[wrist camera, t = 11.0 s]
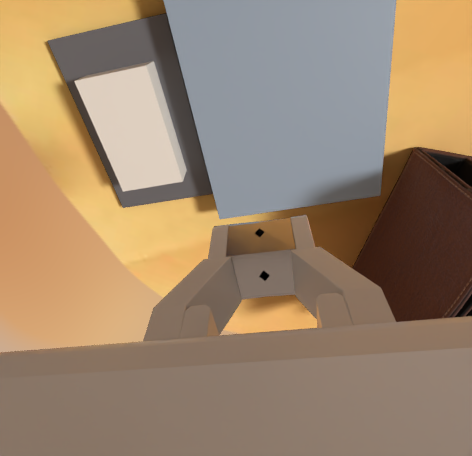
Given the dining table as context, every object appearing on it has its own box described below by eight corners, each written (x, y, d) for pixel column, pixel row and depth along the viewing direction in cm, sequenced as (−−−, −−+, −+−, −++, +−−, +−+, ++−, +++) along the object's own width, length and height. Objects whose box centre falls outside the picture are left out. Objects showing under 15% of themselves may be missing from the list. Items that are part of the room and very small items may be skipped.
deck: (165, -20, 24) (157, -23, 22) (388, -75, 22) (402, -84, 20) (221, 206, 35) (219, 219, 33) (371, 184, 33) (380, 195, 31)
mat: (50, 40, 26) (47, 40, 26) (166, 13, 25) (165, 13, 24) (124, 205, 35) (122, 207, 35) (212, 191, 34) (212, 193, 33)
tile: (86, 75, 27) (74, 81, 25) (153, 60, 26) (146, 65, 24) (130, 179, 33) (122, 191, 31) (186, 170, 32) (182, 181, 30)
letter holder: (340, 287, 42) (377, 395, 30) (413, 144, 31) (515, 227, 19) (411, 297, 43) (473, 406, 31) (507, 161, 31) (661, 251, 20)
